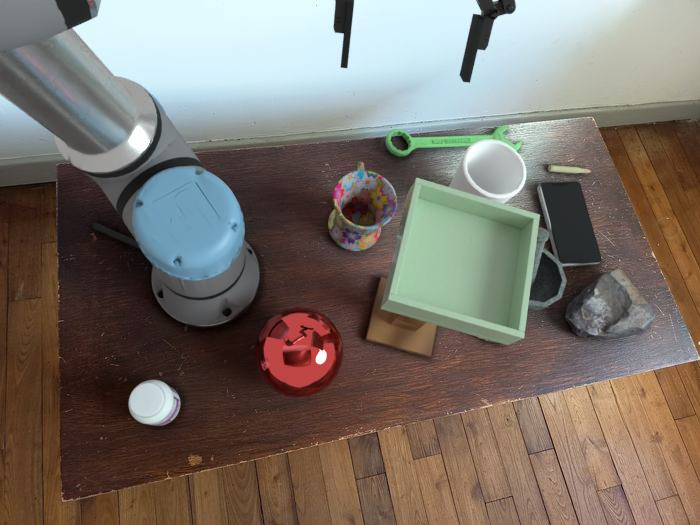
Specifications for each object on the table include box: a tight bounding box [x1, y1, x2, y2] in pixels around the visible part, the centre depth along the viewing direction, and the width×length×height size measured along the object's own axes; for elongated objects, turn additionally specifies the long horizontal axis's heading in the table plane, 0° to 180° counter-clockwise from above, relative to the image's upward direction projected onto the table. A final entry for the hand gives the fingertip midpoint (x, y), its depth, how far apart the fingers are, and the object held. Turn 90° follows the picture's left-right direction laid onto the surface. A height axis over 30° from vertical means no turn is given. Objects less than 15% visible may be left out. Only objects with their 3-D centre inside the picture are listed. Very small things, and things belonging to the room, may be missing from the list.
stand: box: [364, 276, 438, 358], centre depth 71 cm, size 10×10×24 cm
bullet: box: [547, 164, 592, 175], centre depth 95 cm, size 1×1×8 cm
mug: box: [327, 161, 398, 252], centre depth 81 cm, size 12×9×11 cm
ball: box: [253, 306, 345, 399], centre depth 72 cm, size 12×12×12 cm
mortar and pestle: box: [528, 226, 568, 311], centre depth 81 cm, size 11×9×12 cm
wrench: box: [385, 125, 523, 158], centre depth 93 cm, size 25×2×5 cm
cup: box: [448, 139, 527, 204], centre depth 84 cm, size 10×10×13 cm
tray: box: [380, 177, 541, 346], centre depth 58 cm, size 14×14×4 cm
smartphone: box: [536, 180, 603, 268], centre depth 91 cm, size 8×1×15 cm
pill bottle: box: [128, 379, 181, 427], centre depth 68 cm, size 5×5×10 cm
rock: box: [564, 267, 657, 339], centre depth 85 cm, size 14×11×5 cm
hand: (404, 72), depth 60 cm, fingers open, 13 cm apart
